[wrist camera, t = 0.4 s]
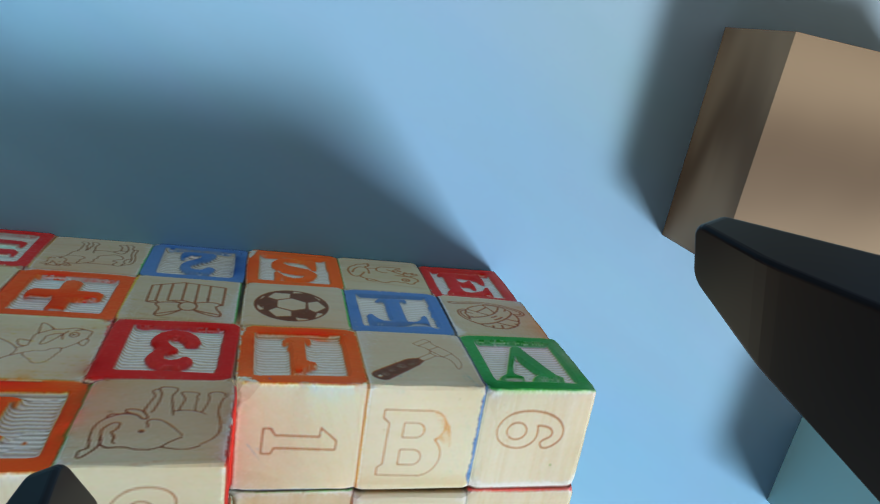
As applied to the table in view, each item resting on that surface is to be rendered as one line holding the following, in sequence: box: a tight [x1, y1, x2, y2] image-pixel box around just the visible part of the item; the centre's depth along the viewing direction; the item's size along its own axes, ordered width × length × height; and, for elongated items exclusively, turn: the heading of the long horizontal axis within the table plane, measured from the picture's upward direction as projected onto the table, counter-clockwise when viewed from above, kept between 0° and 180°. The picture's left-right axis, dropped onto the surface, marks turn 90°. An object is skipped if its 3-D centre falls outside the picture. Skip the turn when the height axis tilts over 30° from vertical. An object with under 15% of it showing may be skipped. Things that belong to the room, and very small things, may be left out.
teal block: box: [767, 416, 880, 504], centre depth 31 cm, size 5×5×6 cm
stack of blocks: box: [0, 229, 596, 504], centre depth 19 cm, size 21×6×12 cm, turn 81°
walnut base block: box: [662, 27, 880, 255], centre depth 26 cm, size 8×8×4 cm
